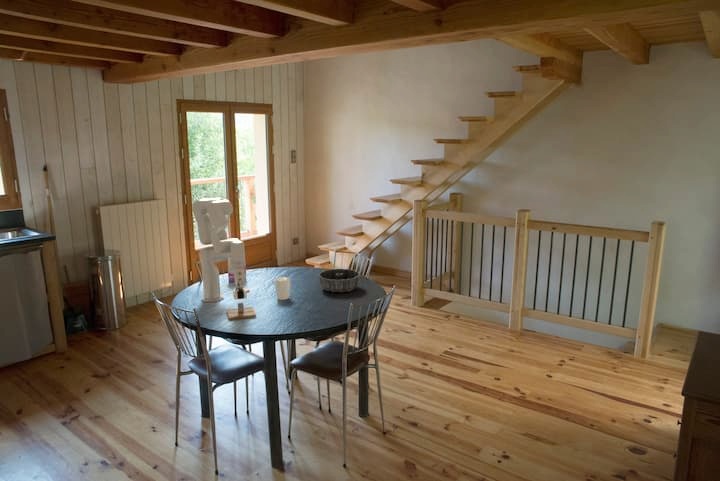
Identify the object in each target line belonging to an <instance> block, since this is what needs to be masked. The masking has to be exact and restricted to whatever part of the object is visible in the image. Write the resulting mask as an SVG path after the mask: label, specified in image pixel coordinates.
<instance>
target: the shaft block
mask: <svg viewBox="0 0 720 481" xmlns="http://www.w3.org/2000/svg"><path fill="white" fill-rule="evenodd" d="M226 315H227V317H228V321H238V320H245V319H254V318H257V314H256V311H255V310H254V307H253V306H249V307H248V306H247V307H245V306H244V302H243V301H242V302H238V303H237V308H230V309H226Z"/></svg>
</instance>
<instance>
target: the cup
mask: <svg viewBox="0 0 720 481" xmlns="http://www.w3.org/2000/svg"><path fill="white" fill-rule="evenodd" d="M274 281H275V282H274V286H275V290H276V296H277V299H278V300H280V301H285V300H288V299H290V290H291V278H290V277H288V276H279V277H276V278H275V279H274Z"/></svg>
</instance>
